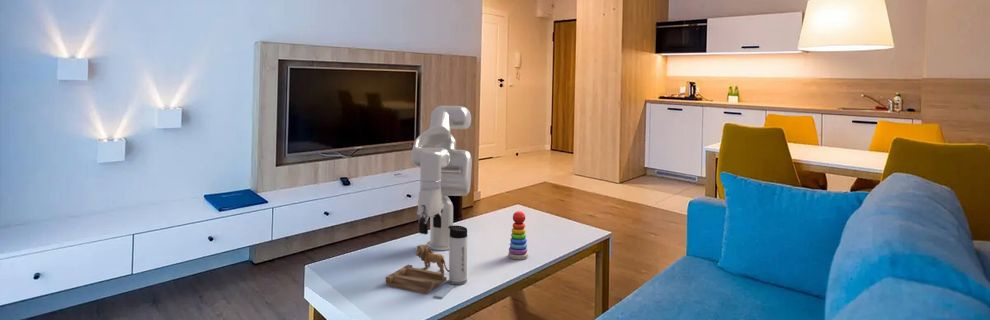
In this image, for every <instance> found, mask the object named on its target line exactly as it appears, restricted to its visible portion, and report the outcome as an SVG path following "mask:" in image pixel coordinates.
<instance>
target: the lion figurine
mask: <svg viewBox="0 0 990 320" xmlns="http://www.w3.org/2000/svg"><path fill="white" fill-rule="evenodd" d="M414 254H415V256H416V257H418V258H419V259H421V261H423V264H424V267H423V270H428V268H431V263H432V264H436V265H437V267H438V268H439V271H441V272H440V273H444V274H445V270H446V272H447V273H449V268H447V265H446V261H445V258H444V255H443V254H442V253H435V252H433V251H432V249H430V248H428V247H427V245H424V244H419V245H417V246H416V251H414ZM444 268H445V269H444Z"/></svg>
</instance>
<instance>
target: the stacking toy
mask: <svg viewBox="0 0 990 320" xmlns="http://www.w3.org/2000/svg"><path fill="white" fill-rule="evenodd" d="M512 220H513V222H514V223H512V228H511V233H510V237H511V238H510V241H509V242H510V243H509V248H508V254H507V255H508V257H509V258H510V259H512V260H525V259H527V258H528V257H529V253H528V248H527V247H528V244H527V241H528V239H527V238H526V237H527V234H526V229H525V228H526V224H525V221H526V214H525V213H524V212H523V211H522V210H521V211H519V210H518V211H516V212H514V213H513V214H512Z"/></svg>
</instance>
